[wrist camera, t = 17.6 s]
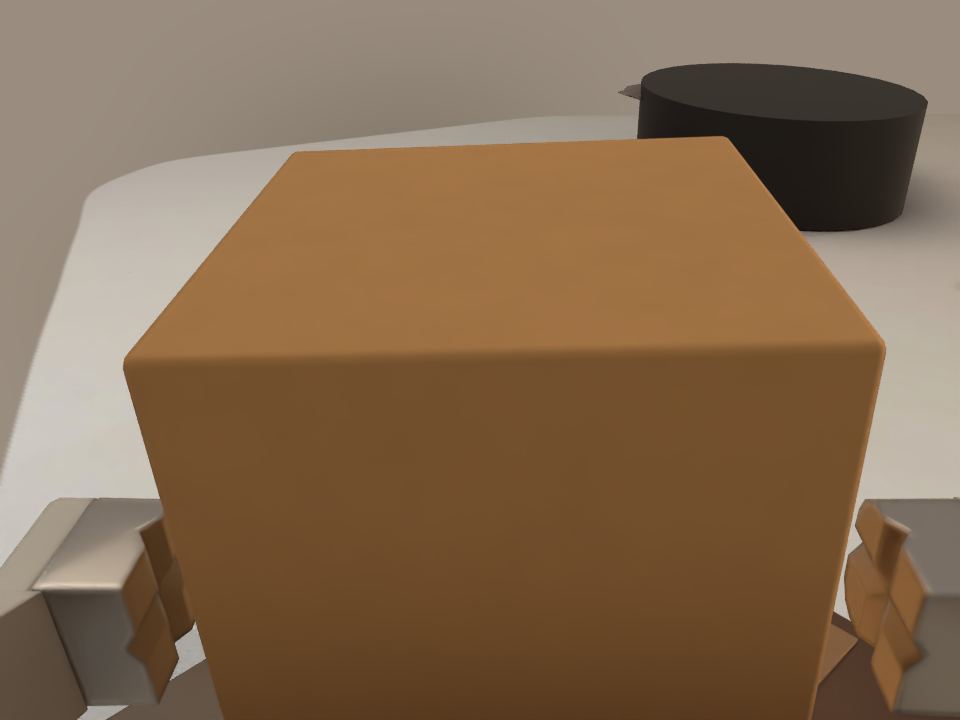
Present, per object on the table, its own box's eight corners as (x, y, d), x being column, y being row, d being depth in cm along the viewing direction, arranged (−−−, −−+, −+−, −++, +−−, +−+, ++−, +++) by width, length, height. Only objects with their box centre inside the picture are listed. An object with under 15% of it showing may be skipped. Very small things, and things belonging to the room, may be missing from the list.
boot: (732, 1159, 11) (908, 343, 5) (335, 1145, 12) (100, 360, 6) (638, 582, 20) (667, 47, 15) (418, 583, 21) (360, 60, 15)
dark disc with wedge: (812, 271, 47) (847, 135, 43) (585, 173, 59) (596, 60, 55) (951, 214, 55) (991, 94, 51) (724, 138, 67) (743, 37, 63)
